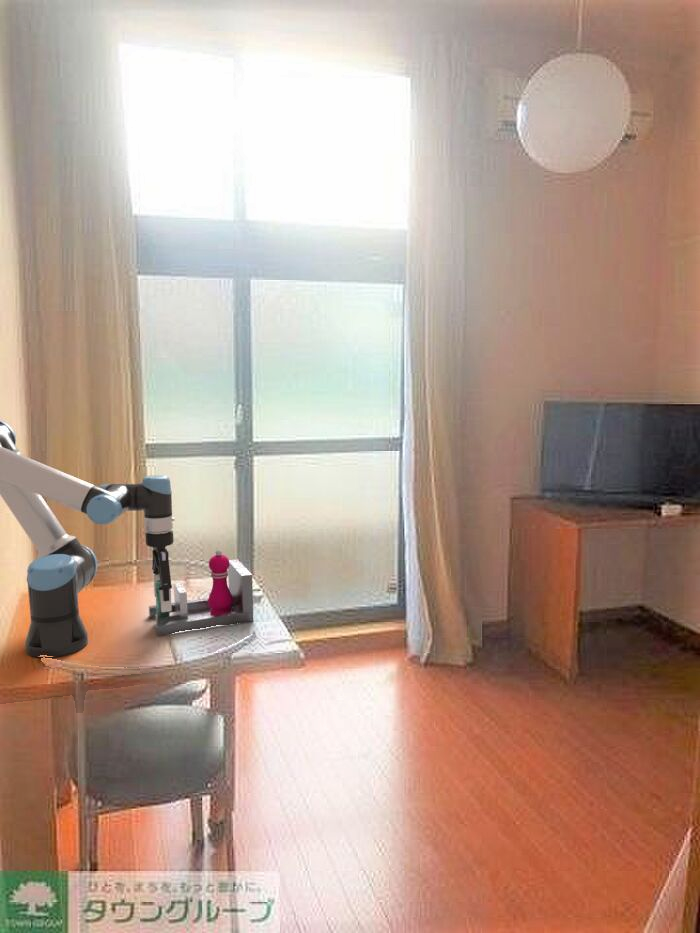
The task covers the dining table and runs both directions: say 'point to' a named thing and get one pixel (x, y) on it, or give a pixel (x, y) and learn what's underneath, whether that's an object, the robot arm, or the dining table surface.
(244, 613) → the frame
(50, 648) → the robot arm
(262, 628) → the dining table surface
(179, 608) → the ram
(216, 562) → the pepper mill
